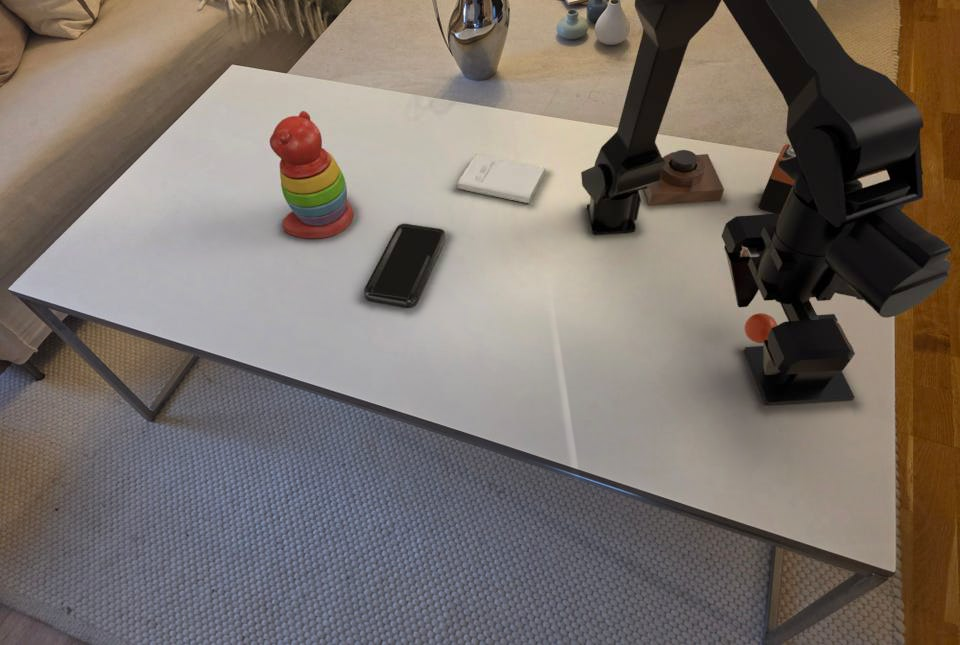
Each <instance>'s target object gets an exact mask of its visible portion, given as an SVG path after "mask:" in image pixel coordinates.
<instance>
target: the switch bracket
mask: <svg viewBox="0 0 960 645" xmlns="http://www.w3.org/2000/svg"><path fill="white" fill-rule="evenodd" d="M817 316H818V318H819V319H833V318H834V319H835V320H836V321H837V322H838V321H839V320H838V318H837V316H836V314H835V313H827V314H817ZM850 345H851V347H852V349H853V350H854V348H853V346H852V344H851V343H850ZM743 351H744V354H745V356H746V360H747V361H748V364H749V368H750V369H751V371H752V374H753V377H754V379H755V382H756V385H757V387H758V390H759V392H760V395H761V397H762V400H763V403H764V405H765V406H766V407H767V406H782V405H798V404H799V405H800V404H814V403H830V402H846V401H847V402H848V401H854V399H855V398H856V396H855V395H854V392H853V391H852V389H851V386H850V384H849V383H848V381H847V379H846V377H845V375H844V372H843V371H829V372H814V373H798V374H785V373H783V372H779V373H777V374H773V375H765V372H764V353H763V345H759V346H745V347H744V349H743Z"/></svg>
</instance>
